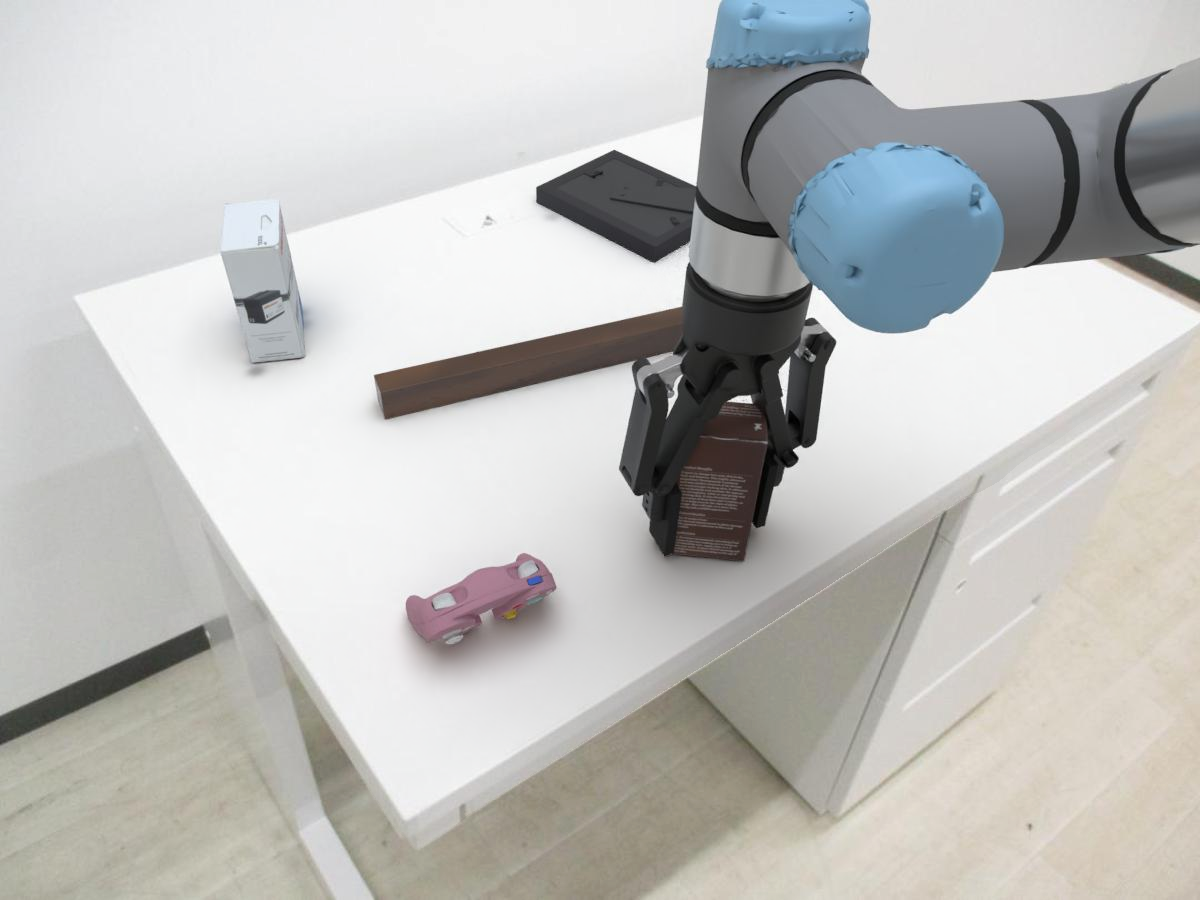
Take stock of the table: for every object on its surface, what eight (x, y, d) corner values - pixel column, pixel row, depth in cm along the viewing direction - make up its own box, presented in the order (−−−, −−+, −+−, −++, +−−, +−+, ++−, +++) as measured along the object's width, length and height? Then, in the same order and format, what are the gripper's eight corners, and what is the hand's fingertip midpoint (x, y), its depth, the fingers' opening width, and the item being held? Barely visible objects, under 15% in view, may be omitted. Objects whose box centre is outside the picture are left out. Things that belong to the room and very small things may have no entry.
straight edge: (726, 338, 91) (730, 312, 89) (384, 419, 81) (380, 392, 79) (714, 324, 92) (717, 298, 90) (378, 401, 82) (373, 374, 80)
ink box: (251, 311, 91) (222, 200, 83) (304, 305, 92) (280, 195, 84) (248, 365, 85) (217, 251, 77) (305, 358, 86) (279, 246, 78)
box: (744, 519, 74) (769, 402, 65) (744, 564, 70) (769, 446, 62) (667, 511, 74) (681, 393, 66) (663, 555, 71) (678, 436, 62)
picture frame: (730, 217, 107) (613, 164, 116) (732, 199, 106) (614, 146, 114) (654, 263, 100) (535, 202, 108) (655, 244, 98) (535, 184, 107)
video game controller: (422, 665, 65) (430, 646, 59) (398, 604, 66) (404, 579, 60) (551, 612, 68) (572, 589, 62) (527, 555, 70) (545, 527, 63)
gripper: (856, 209, 61) (794, 463, 77) (569, 266, 55) (566, 529, 71) (928, 269, 56) (846, 527, 72) (621, 339, 50) (605, 604, 66)
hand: (707, 528), depth 71 cm, fingers closed on box, 7 cm apart
